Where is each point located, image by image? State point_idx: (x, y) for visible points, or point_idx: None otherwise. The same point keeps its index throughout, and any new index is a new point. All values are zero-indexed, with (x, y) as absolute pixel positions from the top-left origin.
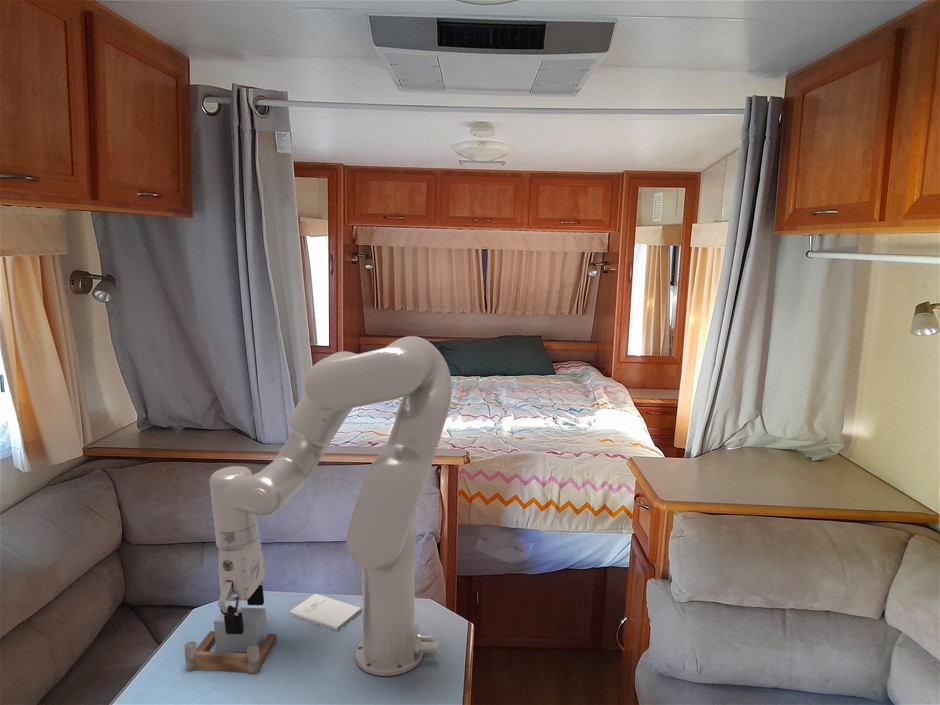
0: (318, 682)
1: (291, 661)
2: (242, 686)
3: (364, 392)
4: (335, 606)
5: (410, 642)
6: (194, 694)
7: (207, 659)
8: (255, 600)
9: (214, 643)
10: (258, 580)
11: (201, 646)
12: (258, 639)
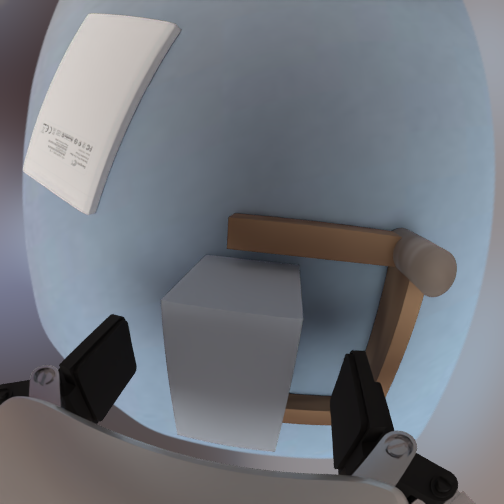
0: (437, 48)
1: (355, 129)
2: (455, 260)
3: None
4: (69, 80)
5: None
6: (450, 360)
7: None
8: (120, 355)
9: None
10: (109, 481)
11: (296, 417)
12: (281, 276)
